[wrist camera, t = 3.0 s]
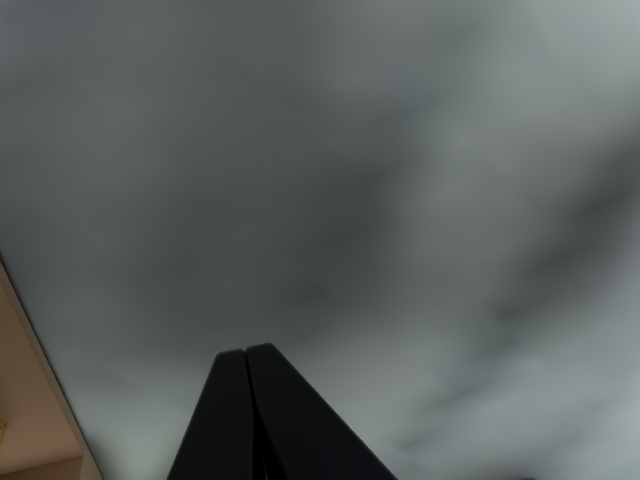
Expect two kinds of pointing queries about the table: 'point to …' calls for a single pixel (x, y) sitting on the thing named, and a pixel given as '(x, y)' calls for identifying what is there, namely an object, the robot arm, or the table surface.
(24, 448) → the slot board
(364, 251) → the table surface
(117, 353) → the table surface
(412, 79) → the table surface
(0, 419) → the brass block
